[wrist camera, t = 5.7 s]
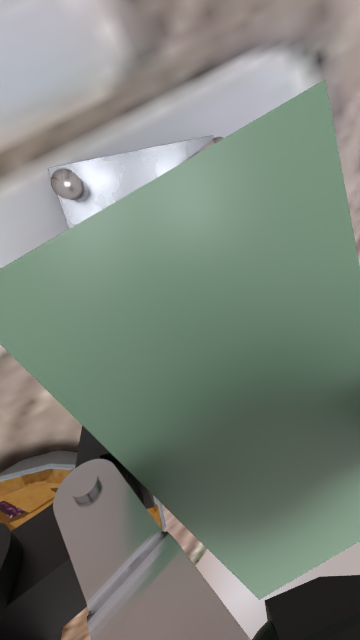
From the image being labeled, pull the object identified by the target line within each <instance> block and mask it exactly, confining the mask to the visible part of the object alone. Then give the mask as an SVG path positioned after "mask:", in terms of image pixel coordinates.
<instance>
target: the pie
mask: <svg viewBox="0 0 360 640" xmlns="http://www.w3.org/2000/svg"><path fill="white" fill-rule="evenodd" d="M77 454H78V452H73V451H62V450H57V451H53V452H49V453H45V454H42V455H38V456H34V457H31V458H27V459H23V460H21V461H19V462H17V463H16V464H14V465H12V466H10V467H9V468H7V469H5V470H4V471H2V472H0V522H1V523H4V524H5V525H7V526H8V528H9V529H10V530H11V531H12V530H13V529H15V528H17V527H18V526H20V525H21V524H23V523H24V522H26V521H27V520H29V519H30V518H32V517H33V516H35V515H36V514H38V513H39V512H41V511H42V510H44V509H45V508H47V507H48V506H49V505H50V504H52V503H53V502H54V497H55V494H56V492H57V490H58V488H59V486H60V484H61V483H62V481H63V480H64V479H65V478H66V476H67V475H68V474H69V473H70V472H71V471H73V470H74V469H75V466H76V460H77ZM153 498H154V506H155V507H152V508H149V509H147V511H148V512H149V513H150V515H151V516H152V517H153V519H154V520H155V522H156V523H157V524H158V526H159V527H160V528H161V529H162V531H164V530H165V527H166V524H165V520H164V515H163V510H162V506H161V502H160V501H159V500H158V499H157V498H156V497H155V496H154V495H153Z"/></svg>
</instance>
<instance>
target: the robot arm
mask: <svg viewBox="0 0 360 640" xmlns="http://www.w3.org/2000/svg"><path fill="white" fill-rule="evenodd" d="M152 507H155V506H154V498H153V494H152V493H151V492H150V491H149V490H148V489H147V488H146V487H145V486H144V485H143V484H142V483H141V482H140V481H139V480H137V479H136V478H135V477H134V476H133V475H132V474H131V473H130V472H129V471H128V470H127V469H126V468H125V467H124V466H123V465H122V464H121V463H120V462H119V461H118V460H117V459H116V458H115V457H114V456H113V455H112V454H111V453H110V452H109V451H108V450H107V449H106V448H105V447H104V446H103V445H102V444H101V443H100V442H99V441H98V440H97V439H96V438H95V437H94V436H93V435H92V434H91V433H90V432H89V431H88V430H87V429H86V428H85V427H84V426H82V431H81V437H80V442H79V448H78V454H77V460H76V466H75V469H74V470H73V471H71V472H70V473H69V474H68V475H67V476H66V478H65V479H64V480H63V481H62V483H61V484H60V486H59V488H58V490H57V492H56V494H55V497H54V502H53V503H52V504H50V505H49V506H48V507H47V508H45V509H44V510H42V511H41V512H39V513H38V514H36V515H35V516H33V517H32V518H30V519H29V520H27V521H26V522H24V523H23V524H21V525H20V526H18V527H17V528H15V529H13V530H12V531H11V530H10V529H9V528H8V526H7V525H5V524H4V523H1V522H0V640H61V635H62V630H63V626H65V625H66V624H67V623H68V622H69V621H70V620H72V619H73V618H74V617H75V616H76V615H77V614H78V613H80V612H81V611H82V610H83V609H84V608H85V607H87V606H88V610H89V615H88V616H87V625H88V630H89V634H90V637H91V640H250V638H249V637H248V636H247V634H246V633H245V632H244V630H243V629H242V628H241V627H240V625H239V624H238V622H237V621H236V620H235V618H234V617H233V616H232V614H231V613H230V612H229V610H228V609H227V608H226V606H225V605H224V604H223V602H222V601H221V600H220V598H219V597H218V596H217V594H216V593H215V592H214V590H213V589H212V588H211V587H210V585H209V584H208V582H207V581H206V580H205V578H204V577H203V576H202V574H201V573H200V572H199V570H198V569H197V568H196V566H195V565H194V564H193V562H192V561H191V560H190V558H189V557H188V556H187V554H186V553H185V552H184V550H183V549H182V548H181V546H180V545H179V544H178V543H177V541H176V540H175V539H174V538H173V537H172V536H171V535H170V534H169V533H168V532H167V531H166V532H164V531H162V529H161V528H160V527H159V526H158V524H157V523H156V522H155V520H154V519H153V517H152V516H151V515H150V513H149V512H148V511H147V509H149V508H152ZM265 606H266V612H267V619H268V621H267V623H265V625H263V626H262V628H261V629H260V630H259V631H258V632H257V633H256V635H255V636H254V638H253V639H252V640H360V575H352V576H328V577H318V578H316V579H314V580H311V581H309V582H307V583H304V584H302V585H300V586H297V587H295V588H293V589H290V590H288V591H286V592H283V593H281V594H279V595H277V596H274V597H272V598H270V599H267V600H265Z"/></svg>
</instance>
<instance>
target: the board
mask: <svg viewBox="0 0 360 640" xmlns="http://www.w3.org/2000/svg"><path fill="white" fill-rule="evenodd" d="M0 344H1V345H2V346H3V347H4V348H5V349H6V350H7V351H8V352H9V353H10V354H11V355H12V356H13V357H14V358H15V359H16V360H17V361H18V362H19V363H20V364H21V365H22V366H23V367H24V368H25V369H26V370H27V371H28V372H29V373H30V374H31V375H32V376H33V377H34V378H35V379H36V380H37V381H38V382H39V383H40V384H41V385H42V386H43V387H44V388H45V389H46V390H47V391H48V392H49V393H50V394H51V395H52V396H53V397H54V398H55V399H56V400H57V401H58V402H59V403H60V404H62V405H63V406H64V407H65V408H66V409H67V410H68V411H69V412H70V413H71V414H72V415H73V416H74V417H75V418H76V419H77V420H78V421H79V422H80V423H81V424H82V425H83V426H84V427H85V428H86V429H87V430H88V431H89V432H90V433H91V434H92V435H93V436H94V437H95V438H96V439H97V440H98V441H99V442H100V443H101V444H102V445H103V446H104V447H105V448H106V449H107V450H108V451H109V452H110V453H111V454H112V455H113V456H114V457H115V458H116V459H117V460H118V461H119V462H120V463H121V464H122V465H123V466H124V467H125V468H126V469H127V470H128V471H129V472H130V473H131V474H132V475H133V476H134V477H135V478H136V479H137V480H139V481H140V482H141V483H142V484H143V485H144V486H145V487H146V488H147V489H148V490H149V491H150V492H151V493H152V494H153V495H154V496H155V497H156V498H157V499H158V500H159V501H160V502H161V503H162V504H163V505H164V506H165V507H166V508H167V509H168V510H169V511H170V512H171V513H172V514H173V515H174V516H175V517H176V518H177V519H178V520H179V521H180V522H181V523H182V524H183V525H184V526H185V527H186V528H187V529H188V530H189V531H190V532H191V533H192V534H193V535H194V536H195V537H196V538H197V539H198V540H199V541H200V542H201V543H202V544H203V545H204V546H205V547H206V548H207V549H208V550H210V552H212V554H214V555H215V556H216V557H217V558H218V559H219V560H220V561H221V562H222V563H223V564H224V565H225V566H226V567H227V568H228V569H229V570H230V571H231V572H232V573H233V574H234V575H235V576H236V577H237V578H238V579H239V580H240V581H241V582H242V583H243V584H244V585H245V586H246V587H247V588H248V589H249V590H250V591H251V592H252V593H253V594H254V595H255V596H256V597H257V598H258V599H259V600H260V599H262V598H263V597H265V596H267V595H268V594H270V593H272V592H273V591H275V590H277V589H279V588H280V587H282V586H284V585H285V584H287V583H289V582H291V581H292V580H294V579H295V578H297V577H299V576H301V575H302V574H304V573H306V572H308V571H309V570H311V569H313V568H314V567H316V566H318V565H320V564H321V563H323V562H325V561H326V560H328V559H330V558H332V557H333V556H335V555H337V554H339V553H340V552H342V551H344V550H345V549H347V548H349V547H351V546H352V545H354V544H356V543H357V542H359V541H360V265H359V260H358V254H357V249H356V244H355V238H354V233H353V228H352V222H351V217H350V211H349V206H348V201H347V195H346V190H345V184H344V179H343V174H342V168H341V163H340V157H339V152H338V147H337V141H336V136H335V130H334V125H333V120H332V114H331V109H330V103H329V98H328V93H327V87H326V82H325V80H323V81H321V82H320V83H318V84H316V85H315V86H313V87H311V88H309V89H308V90H306V91H304V92H303V93H301V94H299V95H298V96H296V97H294V98H292V99H291V100H289V101H287V102H286V103H284V104H282V105H280V106H279V107H277V108H275V109H274V110H272V111H270V112H268V113H267V114H265V115H263V116H262V117H260V118H258V119H256V120H255V121H253V122H251V123H250V124H248V125H246V126H244V127H243V128H241V129H239V130H238V131H236V132H234V133H232V134H231V135H229V136H227V137H226V138H224V139H222V140H220V141H219V142H217V143H215V144H214V145H212V146H210V147H208V148H207V149H205V150H203V151H202V152H200V153H198V154H197V155H195V156H193V157H191V158H190V159H188V160H186V161H185V162H183V163H181V164H179V165H178V166H176V167H174V168H173V169H171V170H169V171H167V172H166V173H164V174H162V175H161V176H159V177H157V178H155V179H154V180H152V181H150V182H149V183H147V184H145V185H143V186H142V187H140V188H138V189H137V190H135V191H133V192H131V193H130V194H128V195H126V196H125V197H123V198H121V199H119V200H118V201H116V202H114V203H113V204H111V205H109V206H107V207H106V208H104V209H102V210H101V211H99V212H97V213H95V214H94V215H92V216H90V217H89V218H87V219H85V220H84V221H82V222H80V223H78V224H77V225H75V226H73V227H72V228H70V229H68V230H66V231H65V232H63V233H61V234H60V235H58V236H56V237H54V238H53V239H51V240H49V241H48V242H46V243H44V244H42V245H41V246H39V247H37V248H36V249H34V250H32V251H30V252H29V253H27V254H25V255H24V256H22V257H20V258H18V259H17V260H15V261H13V262H12V263H10V264H8V265H6V266H5V267H3V268H1V269H0Z"/></svg>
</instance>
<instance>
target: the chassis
mask: <svg viewBox="0 0 360 640" xmlns="http://www.w3.org/2000/svg"><path fill="white" fill-rule="evenodd" d="M222 139H224V138H222V137H216V138H213V135H211V136H206V137H201V138H196V139H191V140H186V141H181V142H176V143H171V144H166V145H161V146H156V147H151V148H146V149H141V150H136V151H131V152H126V153H121V154H116V155H111V156H106V157H101V158H96V159H91V160H86V161H81V162H76V163H70V164H65V165H60V166H55V167H50V168H48V171H49V174H50V177H51V185H52V188H53V190H54V191H55V193H56V194H57V196H58V198H59V201H60V204H61V207H62V209H63V212H64V215H65V218H66V220H67V223H68V226H69V229H70V228H72V227H73V226H75V225H77V224H78V223H80V222H82V221H84V220H85V219H87V218H89V217H90V216H92V215H94V214H95V213H97V212H99V211H101V210H102V209H104V208H106V207H107V206H109V205H111V204H113V203H114V202H116V201H118V200H119V199H121V198H123V197H125V196H126V195H128V194H130V193H131V192H133V191H135V190H137V189H138V188H140V187H142V186H143V185H145V184H147V183H149V182H150V181H152V180H154V179H155V178H157V177H159V176H161V175H162V174H164V173H166V172H167V171H169V170H171V169H173V168H174V167H176V166H178V165H179V164H181V163H183V162H185V161H186V160H188V159H190V158H191V157H193V156H195V155H197V154H198V153H200V152H202V151H203V150H205V149H207V148H208V147H210V146H212V145H214V144H215V143H217V142H219V141H220V140H222Z"/></svg>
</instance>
